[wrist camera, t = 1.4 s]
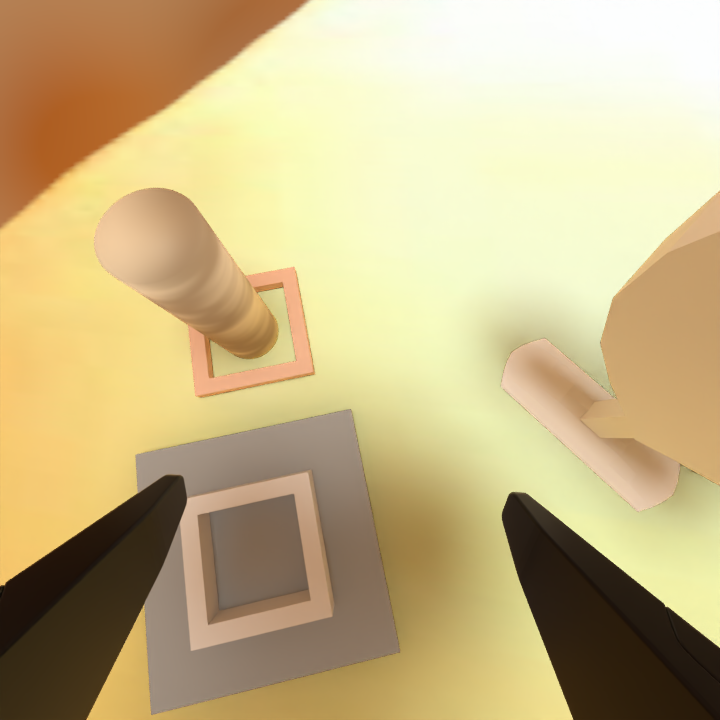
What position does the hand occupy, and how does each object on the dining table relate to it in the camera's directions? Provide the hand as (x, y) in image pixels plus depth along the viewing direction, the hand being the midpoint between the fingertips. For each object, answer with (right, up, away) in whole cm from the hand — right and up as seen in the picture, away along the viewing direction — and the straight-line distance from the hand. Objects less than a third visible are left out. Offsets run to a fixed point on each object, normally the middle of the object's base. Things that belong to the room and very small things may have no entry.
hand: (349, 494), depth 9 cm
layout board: (-6, -8, +12) cm, 15 cm away
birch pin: (-8, +6, +15) cm, 18 cm away
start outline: (-8, +6, +15) cm, 18 cm away
